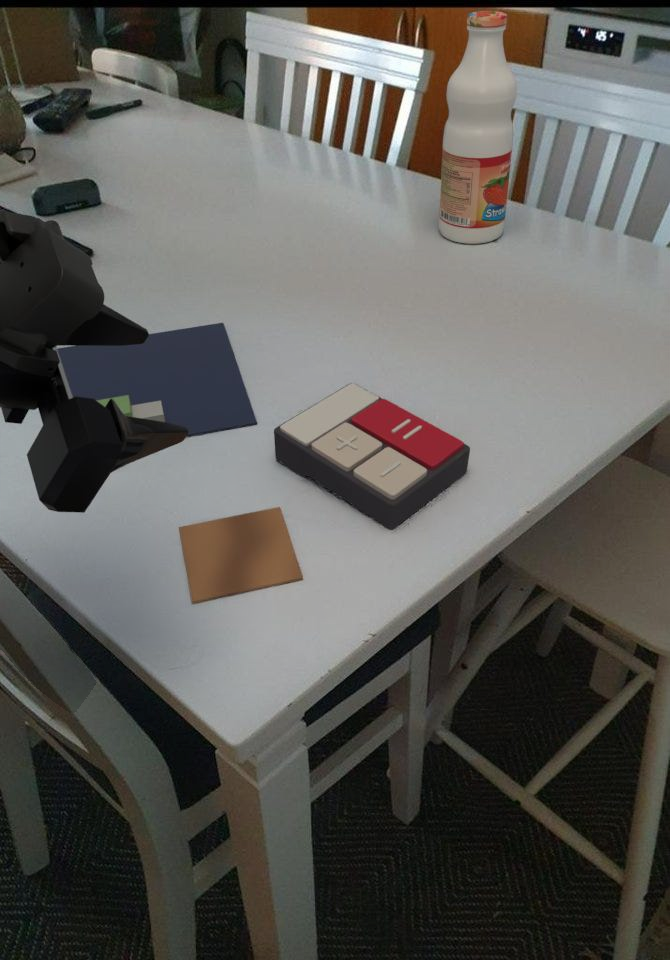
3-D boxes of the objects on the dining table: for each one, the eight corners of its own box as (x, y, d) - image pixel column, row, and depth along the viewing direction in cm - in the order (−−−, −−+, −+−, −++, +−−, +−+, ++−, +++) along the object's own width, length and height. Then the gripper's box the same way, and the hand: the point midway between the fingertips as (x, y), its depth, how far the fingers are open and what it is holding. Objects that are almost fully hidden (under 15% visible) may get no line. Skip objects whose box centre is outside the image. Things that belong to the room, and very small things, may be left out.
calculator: (393, 500, 67) (271, 422, 75) (391, 536, 70) (273, 458, 78) (473, 440, 73) (352, 374, 81) (468, 476, 76) (351, 409, 84)
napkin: (55, 460, 79) (55, 458, 79) (55, 350, 95) (55, 348, 95) (257, 424, 83) (256, 421, 82) (223, 324, 99) (223, 322, 99)
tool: (65, 454, 79) (56, 424, 77) (65, 435, 82) (56, 406, 79) (167, 435, 81) (162, 406, 79) (164, 418, 83) (158, 389, 81)
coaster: (192, 603, 64) (191, 601, 64) (179, 529, 71) (178, 526, 70) (303, 579, 66) (302, 577, 65) (280, 509, 72) (279, 506, 72)
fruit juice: (443, 217, 123) (455, 6, 105) (506, 222, 121) (529, 7, 103) (433, 242, 116) (443, 21, 98) (499, 247, 114) (522, 22, 96)
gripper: (4, 368, 36) (275, 407, 47) (-63, 126, 45) (177, 205, 56) (-68, 515, 42) (186, 520, 53) (-115, 276, 51) (111, 322, 62)
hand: (165, 384), depth 56 cm, fingers open, 9 cm apart
